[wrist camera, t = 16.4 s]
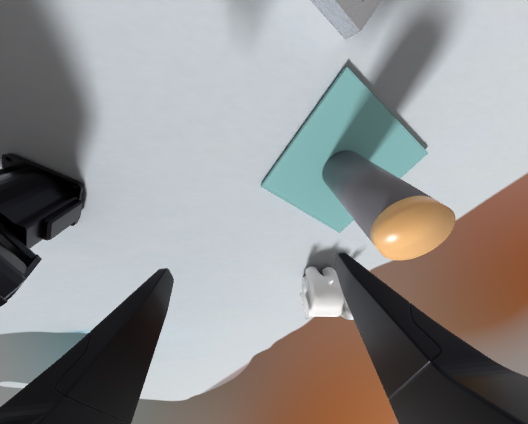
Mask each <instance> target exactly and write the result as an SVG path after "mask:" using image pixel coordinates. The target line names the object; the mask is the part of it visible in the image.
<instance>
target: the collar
mask: <svg viewBox="0 0 528 424" xmlns="http://www.w3.org/2000/svg"><path fill="white" fill-rule="evenodd" d="M311 1H312V2H313V3H314V4H315V5H316V7H317V8H318V9H319V10H320V11H321V12H322V13H323V15H324V16H325V17H326V18H327V19H328V20H329V21H330V22H331V24H332V25H333V26H334V27H335V28H336V29H337V30H338V32H339V33H340V34H341V35H342V36H343V37H344V38H345V39H347V38H349V37H351V36H352V35H354V34H356V33H358V32H360V31H361V30H362V28H363V27H364V25H365V24H366V23H367V21H368V20H369V18H370V17H371V15H372V14H373V12H374V11H375V10H376V8H377V7H378V5H379V4H380V2H381V1H382V0H311Z"/></svg>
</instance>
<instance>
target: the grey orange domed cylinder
mask: <svg viewBox="0 0 528 424" xmlns="http://www.w3.org/2000/svg"><path fill="white" fill-rule="evenodd" d="M322 177H323V180H324V182H325V184H326V185H327V186H328V187H329V189H330V190H331V191H332V192H333V194H334V195H335V196H336V197H337V199H338V200H339V201H340V202H341V204H342V205H343V206H344V207H345V209H346V210H347V211H348V212H349V214H350V215H351V216H352V217H353V219H354V220H355V221H356V223H357V224H358V225H359V226H360V228H361V229H362V230H363V231H364V233H365V234H366V235H367V236H368V238H369V239H370V240H371V241H372V243H373V244H374V245H375V246H376V248H377V249H378V250H379V251H380V253H381V254H382V255H383V256H384V257H386V258H388V259H392V260H407V259H412V258H415V257H418V256H421V255H423V254H425V253H427V252H429V251H431V250H433V249H434V248H436V247H437V246H438V245H440V244H441V243H442V242H443V241H444V240H445V239H446V238H447V237H448V236H449V234H450V233H451V231H452V229H453V227H454V224H455V215H454V212H453V211H452V210H451V209H450V208H448V207H447V206H445V205H443V204H442V203H440V202H438V201H437V200H435V199H433V198H432V197H430V196H428V195H427V194H425V193H423V192H422V191H420V190H418V189H417V188H415V187H413V186H411V185H410V184H408V183H406V182H405V181H403V180H401V179H400V178H398V177H396V176H395V175H393V174H391V173H390V172H388V171H386V170H385V169H383V168H381V167H379V166H378V165H376V164H374V163H373V162H371V161H369V160H368V159H366V158H364V157H363V156H361V155H359V154H358V153H356V152H354V151H351V150H344V151H340V152H337V153H335V154H334V155H332V156H331V157H330V158H329V159H328V160H327V162H326V163H325V165H324V167H323V171H322Z"/></svg>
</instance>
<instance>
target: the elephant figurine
mask: <svg viewBox="0 0 528 424" xmlns="http://www.w3.org/2000/svg"><path fill="white" fill-rule="evenodd" d="M305 272H306V276H304V277H303V278H302V290H303V292H302V293H300V298H301V300H302V306H303V308H304V313H305V318H306V319H308V317H309V316H329V317H337V316H339V315H341V316H342V317H344V318H345V319H348V320H353V316H352V314H351V312H350V309H349V307H348V305H347V302H346V300H345V298H344V295H343V292H342V289H341V286H340V283H339V280H338V276H337V273H336V271H335V270H334V269H333V268H331V267H325V268H324V269H323V270H322V273H323V275H324V276H323V275H321V274H320V273H319V272H318V270H317V269H316V267H313V266H310V267H307V269H306V270H305Z"/></svg>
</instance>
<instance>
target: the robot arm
mask: <svg viewBox="0 0 528 424" xmlns="http://www.w3.org/2000/svg"><path fill="white" fill-rule="evenodd" d="M2 166H3V168H2V169H0V306H2V305H4V304H5V303H7V300H8V299H9V298H11V297H12V296H13V294H14V293H15V292H16V291H17V290H18V289H19V287H20V286H21V285H22V283H23V282H24V281H25V280H26V278H27V277H28V276H29V275H30V273H31V272H32V271H33V270H34V268H35V267H36V266H37V264H38V263H39V262H40V261H41V258H40V257H39V256H38V255H35V254H34V253H33V252H32V251H31V250H30V248H31V247H33V246H34V245H35V244H37V243H38V242H40V241H41V240H42V239H44V240H50V239H52V238H53V237H55V236H56V235H58V234H59V233H60V232H62V231H63V230H64V229H66V228H67V227H68V226H70V225H71V226H73V225H75V224H76V223H77V222H78V219H79V218H80V215H81V210H82V205H83V203H82V196H83V190H84V186H83V184H82V183H80V182H78V181H76V180H73V179H71V178H69V177H66V176H64V175H62V174H59V173H57V172H54V171H52V170H50V169H47V168H45V167H43V166H40V165H38V164H36V163H33V162H31V161H29V160H26V159H24V158H22V157H19V156H17V155H14V154H12V153H7V154H4V155H2ZM77 186H78V187H77ZM334 266H335V270H336V273H337V276H338V280H339V283H340V286H341V289H342V292H343V295H344V298H345V300H346V302H347V305H348V307H349V309H350V312H351V314H352V316H353V319H354V321H355V323H356V325H357V328H358V330H359V332H360V335H361V337H362V339H363V341H364V344H365V346H366V349H367V351H368V353H369V355H370V357H371V360H372V362H373V365H374V367H375V369H376V372H377V374H378V376H379V378H380V381H381V383H382V385H383V388H384V390H385V392H386V395H387V397H388V398H389V401H390V404H391V406H392V409H393V411H394V413H395V416H396V418H397V420H398V423H399V424H528V377H526V376H524V375H521V374H519V373H516V372H514V371H512V370H510V369H508V368H506V367H504V366H502V365H500V364H498V363H496V362H495V361H493V360H491V359H490V358H488V357H487V356H485V355H484V354H482V353H481V352H479V351H478V350H476V349H475V348H473V347H472V346H470V345H469V344H468V343H466V342H465V341H463V340H462V339H460V338H459V337H457V336H455V335H454V334H453V333H451V332H449V331H448V330H447V329H445V328H444V327H442V326H441V325H440V324H438V323H437V322H435V321H434V320H432V319H431V318H430V317H428V316H427V315H426V314H424V313H423V312H422V311H420V310H419V309H418V308H416V307H415V306H414V305H412V304H411V303H409V302H408V301H407V300H406V299H405V298H403V297H402V296H401V295H399V294H398V293H397V292H395V291H394V290H393V289H391V288H390V287H389V286H388V285H386V284H385V283H384V282H382V281H381V280H380V279H379V278H377V277H376V276H375V275H373V274H372V273H371V272H370V271H368V270H367V269H366V268H364V267H363V266H362V265H360V264H359V263H358V262H357V261H355V260H354V259H353V258H351V257H350V256H349V255H347V254H346V253H337V254H336V258H335V263H334ZM173 282H174V279H173V276H172V275H171V273H170V271H169V269H167V268H165V269H159V270H158V271H157V272H156V273H154V274H153V275H152V276H151V277H150V278H149V279H148V280H147V281H146V282H144V283H143V284H142V285H141V286H140V287H139V288H138V289H137V290H136V291H135V292H133V293H132V294H131V295H130V296H129V297H128V298H127V299H126V300H125V301H123V302H122V303H121V304H120V305H119V306H118V307H117V308H116V309H115V310H114V311H112V312H111V313H110V314H109V315H108V316H107V317H106V318H105V319H104V320H103V321H101V322H100V323H99V324H98V325H97V326H96V327H95V328H94V329H93V330H91V332H90V333H88V334H87V335H86V336H85V337H84V338H83V339H82V340H81V341H79V342H78V343H77V344H76V345H75V346H74V347H72V348H71V349H70V350H69V351H68V352H67V353H66V354H65V355H63V356H62V357H61V358H60V359H59V360H57V361H56V362H55V363H54V364H53V365H51V366H50V367H49V368H48V369H47V370H45V371H44V372H43V373H42V374H41V375H39V376H38V377H37V378H36V379H34V380H33V381H32V382H31V383H29V384H28V385H27V386H26V387H25V388H23V389H22V390H21V391H20V392H19V393H17V394H16V395H15V396H14V397H12V398H11V399H10V400H9V401H7V402H6V403H5V404H4V405H2V406H1V407H0V424H131V422H132V419H133V416H134V413H135V410H136V407H137V404H138V400H139V397H140V394H141V391H142V388H143V385H144V382H145V379H146V376H147V373H148V370H149V366H150V363H151V360H152V357H153V354H154V351H155V348H156V345H157V342H158V339H159V335H160V332H161V329H162V326H163V323H164V320H165V317H166V314H167V310H168V306H169V301H170V296H171V292H172V287H173Z"/></svg>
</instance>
